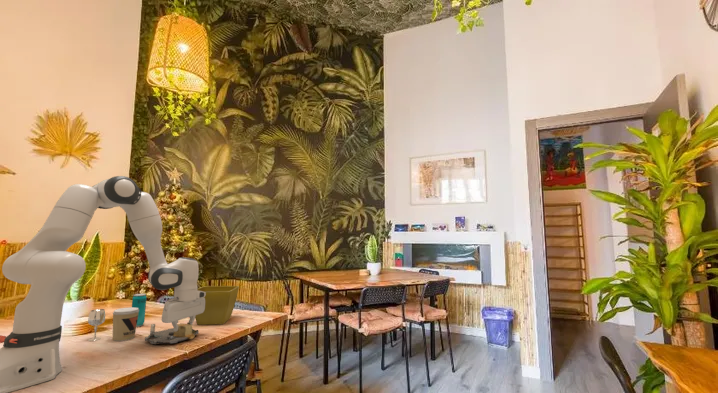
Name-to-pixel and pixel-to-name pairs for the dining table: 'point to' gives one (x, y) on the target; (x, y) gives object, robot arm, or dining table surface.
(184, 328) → the tall wooden block
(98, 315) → the wineglass
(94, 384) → the dining table surface
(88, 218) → the robot arm
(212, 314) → the flower pot
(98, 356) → the dining table surface
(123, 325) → the coffee cup
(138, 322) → the beverage can
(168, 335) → the sprocket
